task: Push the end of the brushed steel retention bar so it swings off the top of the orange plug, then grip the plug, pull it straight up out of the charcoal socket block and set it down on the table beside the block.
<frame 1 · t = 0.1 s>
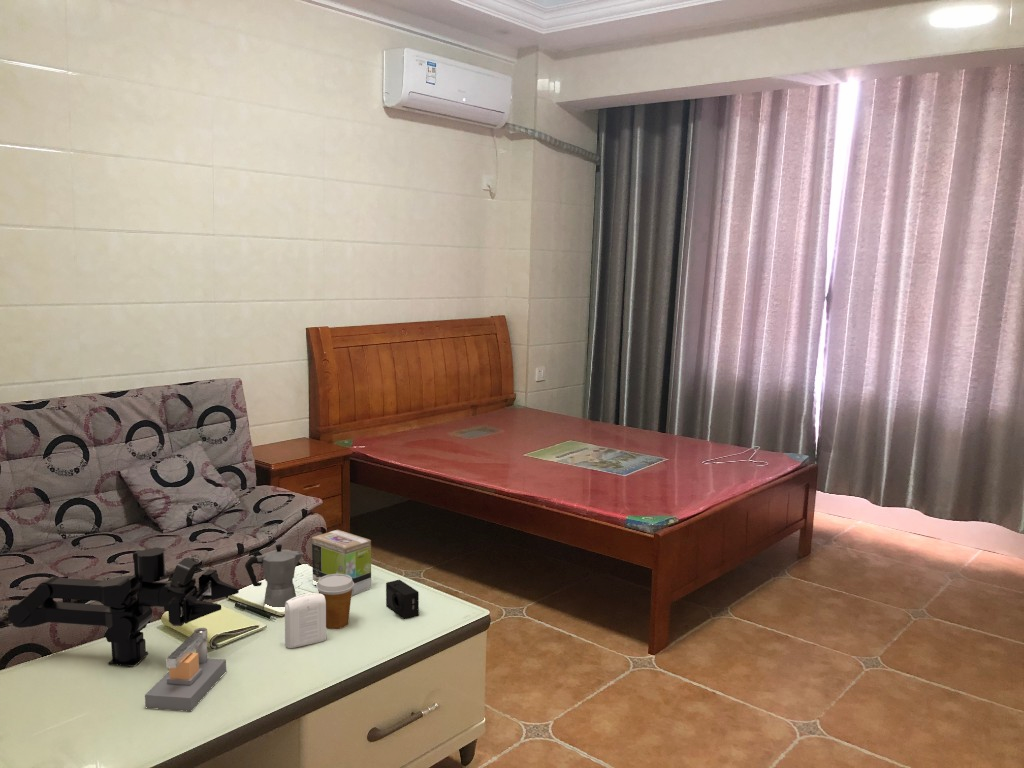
hand: (229, 598, 192), 17 cm above the table, tool horizontal, fingers open, 9 cm apart
disposable coffee cup: (335, 624, 217), on the table
socket block: (187, 689, 184), on the table
digital camera: (400, 612, 225), on the table
coffeepot: (276, 609, 226), on the table
retention bar: (187, 646, 183), point 9 cm above the table, hinge at 0.0°
plug: (185, 691, 183), resting in socket block
white rounded block: (306, 643, 207), on the table
tea box: (341, 587, 241), on the table
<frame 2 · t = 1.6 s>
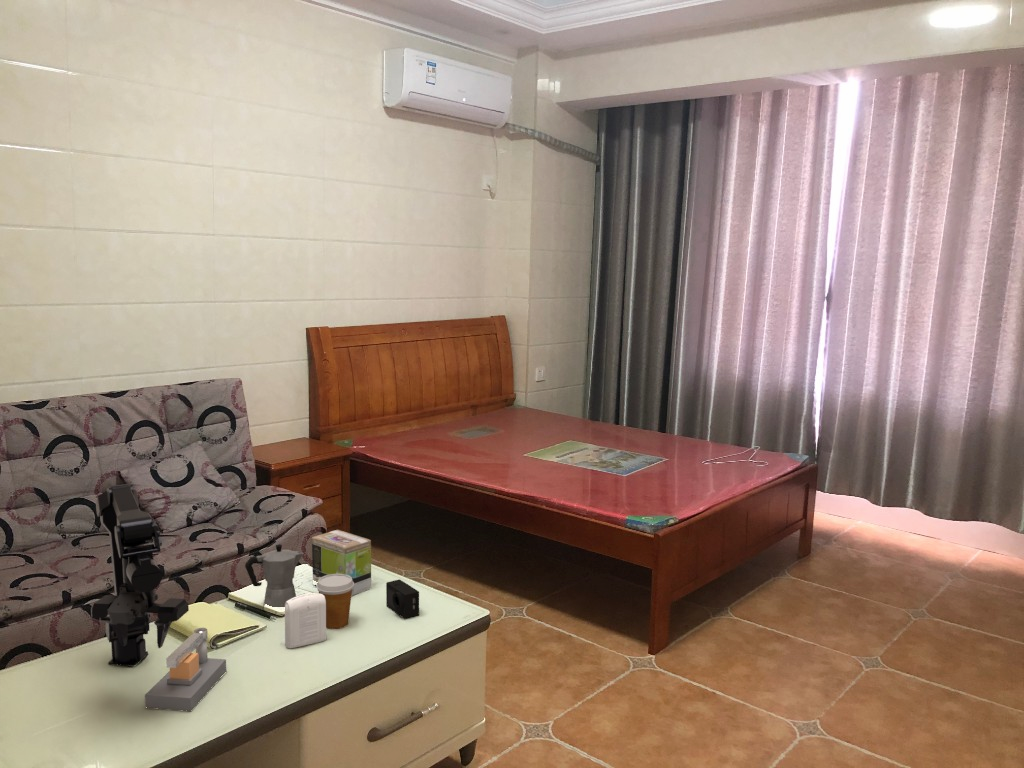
hand: (142, 646, 178), 12 cm above the table, tool pointing down, fingers open, 8 cm apart
nothing on the table moved.
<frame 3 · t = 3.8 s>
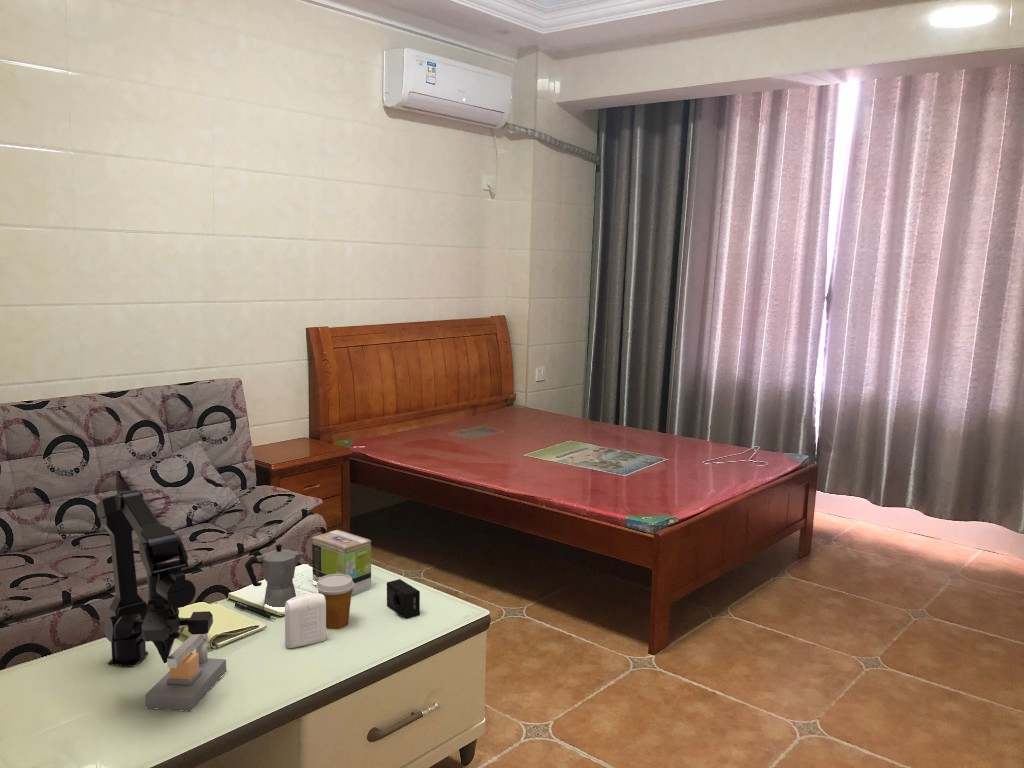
hand: (165, 662, 178), 9 cm above the table, tool pointing down, fingers closed
retention bar: (188, 646, 183), point 9 cm above the table, hinge at 0.8°, touching gripper
everything else where it was.
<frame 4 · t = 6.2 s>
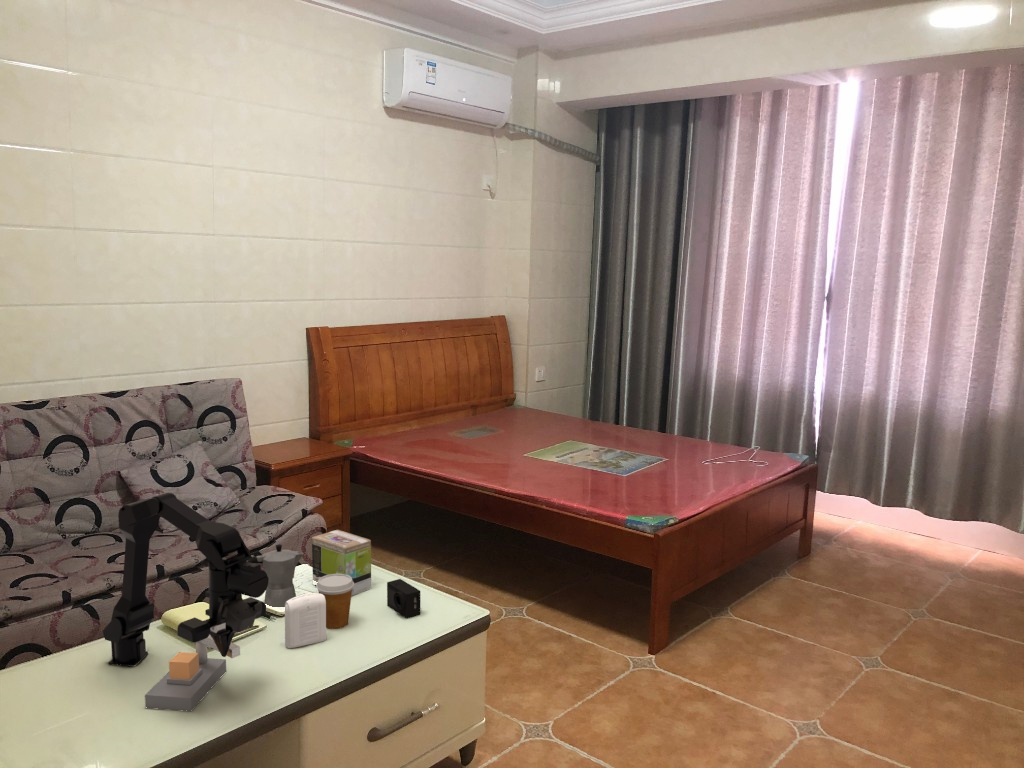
hand: (223, 656, 181), 9 cm above the table, tool pointing down, fingers closed
retention bar: (216, 642, 186), point 9 cm above the table, hinge at 58.0°, touching gripper
everything else where it was.
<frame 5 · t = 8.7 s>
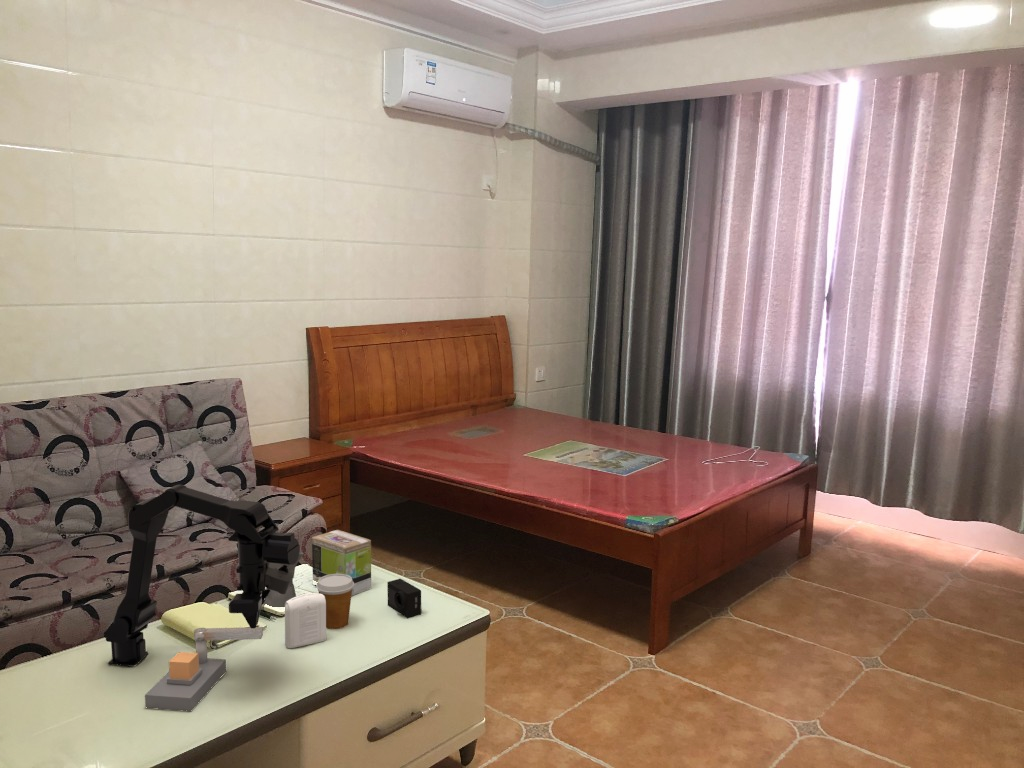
hand: (254, 626, 188), 12 cm above the table, tool pointing down, fingers closed
retention bar: (228, 633, 190), point 9 cm above the table, hinge at 101.2°
everything else where it was.
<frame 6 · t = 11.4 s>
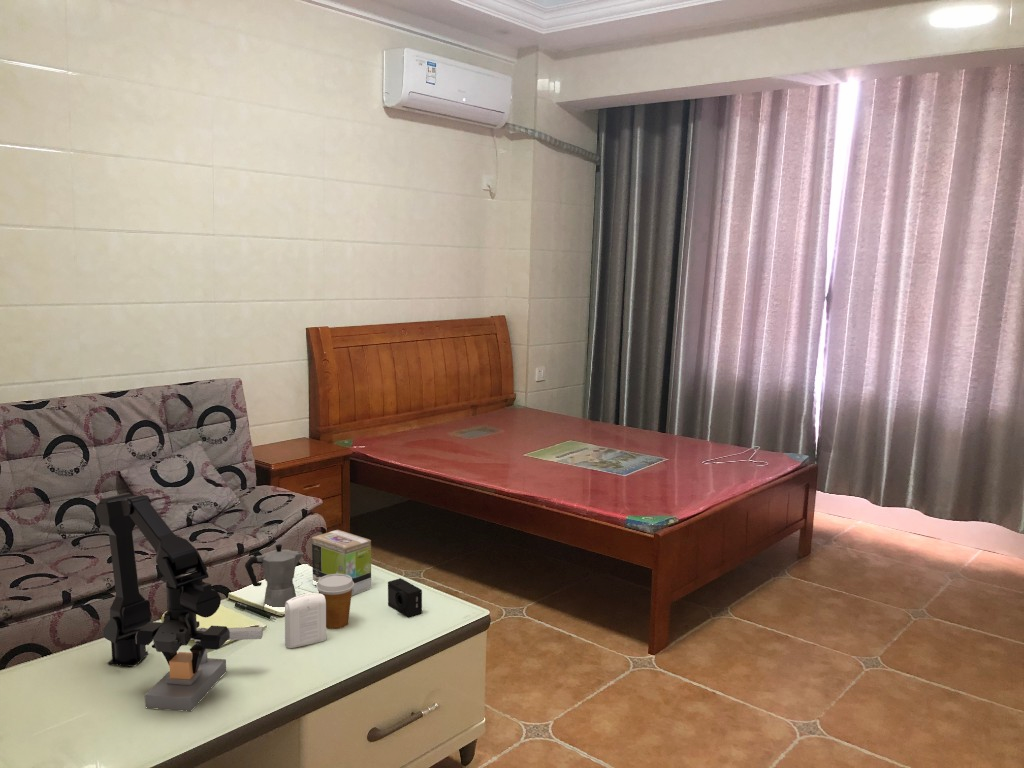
hand: (184, 672, 182), 5 cm above the table, tool pointing down, fingers closed on plug, 4 cm apart
plug: (185, 691, 183), resting in socket block, touching gripper
when the fingers open (6 cm above the table, at t = 15.3 s): plug drops 2 cm, on the table.
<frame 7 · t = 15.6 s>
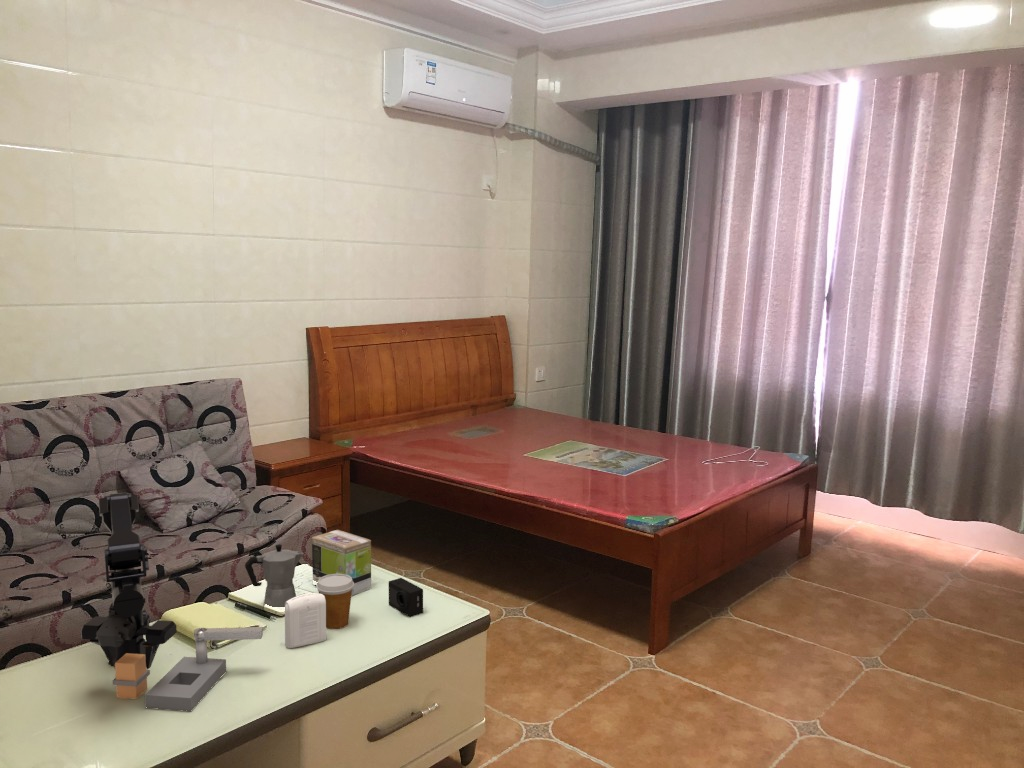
hand: (131, 666, 181), 6 cm above the table, tool pointing down, fingers open, 8 cm apart
plug: (132, 693, 182), on the table
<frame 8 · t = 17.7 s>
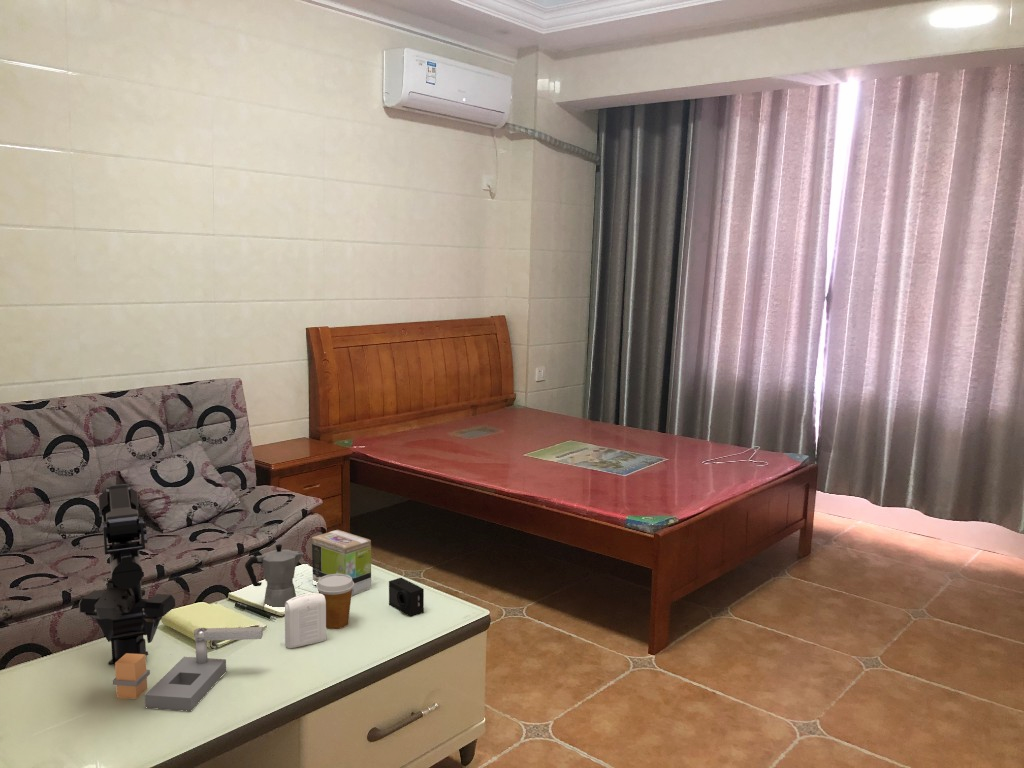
hand: (129, 640, 180), 12 cm above the table, tool pointing down, fingers open, 9 cm apart
at the end: retention bar at +101° (first picture: +0°); plug inside the target area (0.0 cm from its centre), on the table; plug tilted 0° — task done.
